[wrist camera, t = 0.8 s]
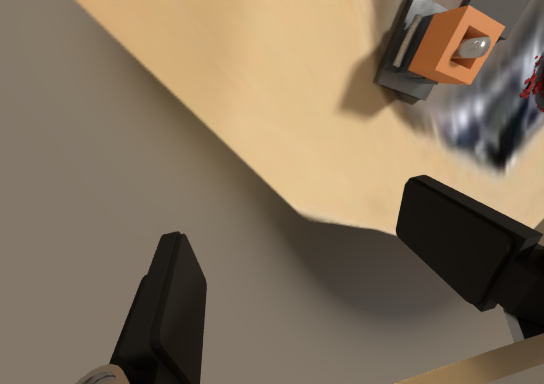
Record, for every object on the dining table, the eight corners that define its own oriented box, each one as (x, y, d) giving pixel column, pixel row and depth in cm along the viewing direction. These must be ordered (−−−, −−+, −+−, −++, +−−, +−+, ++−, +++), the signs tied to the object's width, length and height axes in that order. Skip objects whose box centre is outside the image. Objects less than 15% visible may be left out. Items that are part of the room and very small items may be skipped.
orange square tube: (434, 14, 28) (469, 5, 24) (468, 32, 29) (505, 26, 26) (407, 69, 30) (435, 69, 26) (440, 83, 32) (470, 84, 28)
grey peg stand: (410, -5, 29) (487, -36, 21) (460, 22, 32) (545, 5, 24) (372, 82, 34) (423, 86, 26) (419, 99, 37) (479, 108, 29)
